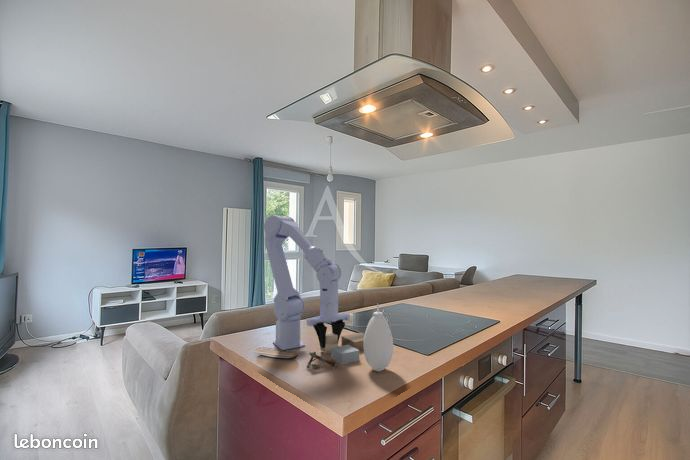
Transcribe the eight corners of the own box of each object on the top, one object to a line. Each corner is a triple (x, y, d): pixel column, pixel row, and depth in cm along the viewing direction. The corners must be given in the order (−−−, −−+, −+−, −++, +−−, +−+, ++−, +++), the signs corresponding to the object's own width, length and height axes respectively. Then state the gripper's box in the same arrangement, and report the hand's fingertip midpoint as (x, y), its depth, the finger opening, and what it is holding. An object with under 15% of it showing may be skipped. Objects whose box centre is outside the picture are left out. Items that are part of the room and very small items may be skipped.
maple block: (320, 349, 99) (320, 333, 99) (331, 347, 101) (331, 331, 102) (326, 353, 96) (326, 336, 96) (337, 351, 98) (337, 334, 98)
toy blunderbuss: (303, 364, 86) (310, 349, 87) (330, 375, 87) (336, 359, 88) (303, 367, 84) (310, 351, 85) (330, 377, 85) (337, 362, 86)
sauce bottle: (378, 362, 90) (377, 299, 91) (399, 370, 84) (398, 303, 85) (358, 369, 85) (357, 302, 86) (378, 378, 79) (378, 306, 80)
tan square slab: (341, 345, 106) (341, 336, 106) (360, 341, 110) (360, 332, 110) (354, 351, 99) (354, 342, 99) (374, 347, 103) (374, 338, 103)
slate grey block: (331, 358, 93) (331, 348, 93) (348, 354, 96) (348, 344, 97) (341, 364, 88) (341, 354, 88) (359, 360, 91) (359, 350, 91)
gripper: (314, 306, 92) (313, 353, 91) (355, 302, 100) (355, 345, 99) (304, 302, 98) (303, 347, 97) (343, 298, 106) (343, 339, 105)
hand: (328, 345), depth 99 cm, fingers closed on maple block, 4 cm apart
